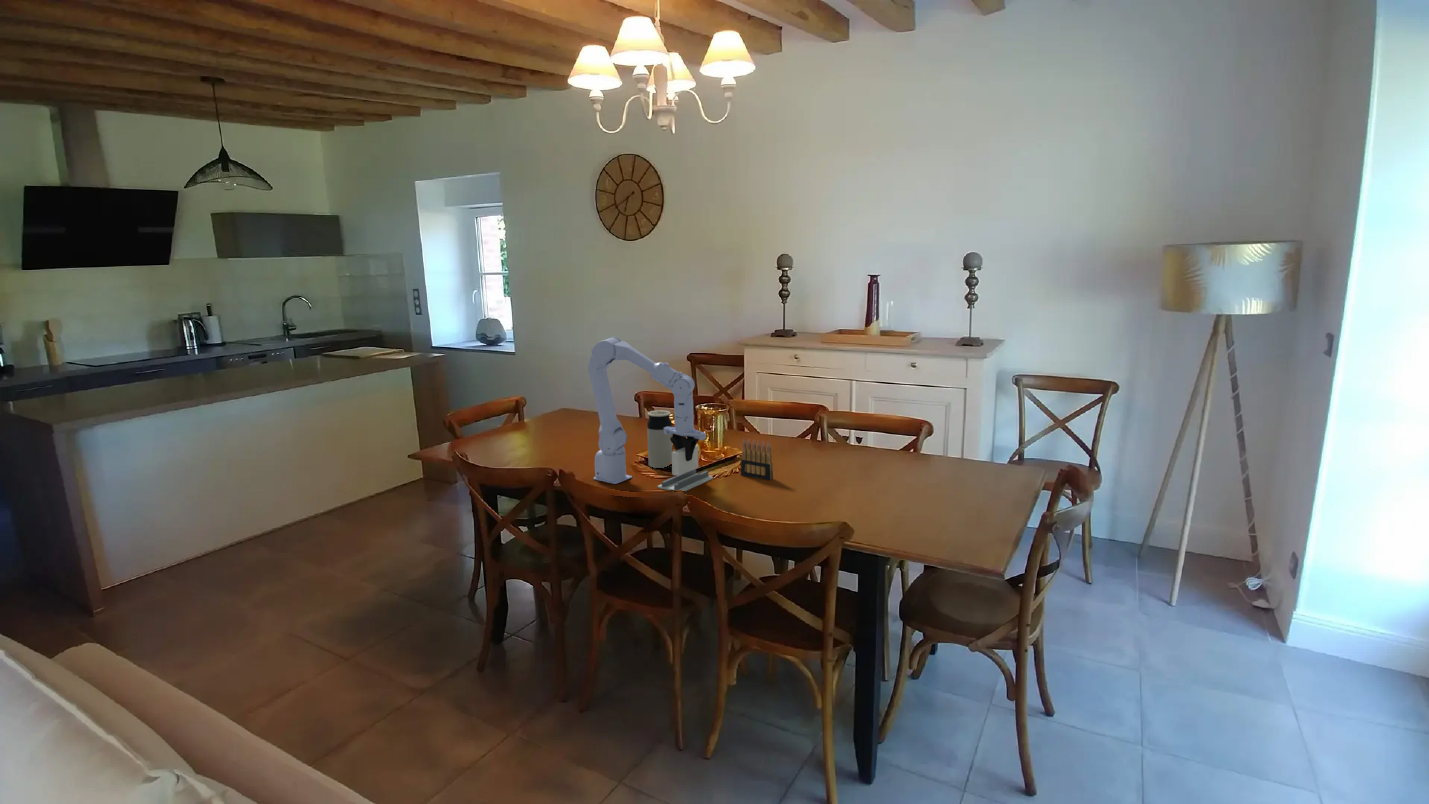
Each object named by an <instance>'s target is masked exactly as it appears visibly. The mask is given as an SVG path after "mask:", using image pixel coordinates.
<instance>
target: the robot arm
mask: <svg viewBox="0 0 1429 804" xmlns="http://www.w3.org/2000/svg"><path fill="white" fill-rule="evenodd" d="M613 361H628V362H631V364H633V365H636V366H637V367H639V368H641V369H643V370H645V371H647V372H649V373H650V377H651V379H652V380H653V381H656V382H657V383H659V384H661V385H662V386H664V387H665V388H667V389H669V390H671V393H672V394H673V398H674V399H673V405H674V406H673V407H674V413H673V414H674V426H672V427H665V428H664V434H672V437H671V438H670V440H671V442H672V446H673V447H674V449H675V450H674V451H676V450H679V449H681V448H684V447H685V457H686V461H690V460H692V456H693V452H694V449H695V446H696V445H697V444H698V442H699V441H704V440H706V439H707V438H706V437H707V436H706V435H707V433H706V432H703V431H700V430H698V429H695V427H694V425H695V423H694V399H693V397H694V396H693V394H694V392H693V391H694V389H695V386H696V384H695V379H693V377H691V376H690V374H684V373H683V372H682V371H678V370H676V369H675V368H673V367H672V366H670V363H669V362H667V361H666V362H662V361H660V362H655V361H654V360H653V359H651V358H649V357H648V356H646V355H645V354H643V353H642V352H640V351H639V350H638V349H636V348H635V347H634V346H631V344H629V343H628V342H627V341H624V340H622V339H620V338H618V337H617V336H612V337H611V336H610V337H609V338H606V339H603V340H600V341H598V342H597V343H595V345H593V347H592V349H591V355H590V359H589V362H588V366H587V371H588V376H589V380H590V384H591V389H592V392H593V396H594V400H595V405H596V409H597V414H598V418H599V424H600V425H599V429H598V436H599V439H598V442H597V443H598V448H599V450H598V451H597V452H596V454H595V455H594V474H595V475H594V477H593V480H595V481H600V482H604V483H608V484H613V485H617V484H619V483H622V482H624V481H627V480H629V479H632V478H633V476H632V475H629V474H627V465H626V463H627V462H626V449H625V445H626V443H627V441H628V435H627V432H626V431H625V429H624V428H623V425H622V422H621V421H620V420H619V419H618V417H617V416H618V415H617V412H616V408H615V402H614V399H613V394H612V389H611V386H610V380H609V376H608V373H607V370H608V368H609V367H610V366H611V364H612V363H613Z"/></svg>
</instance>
